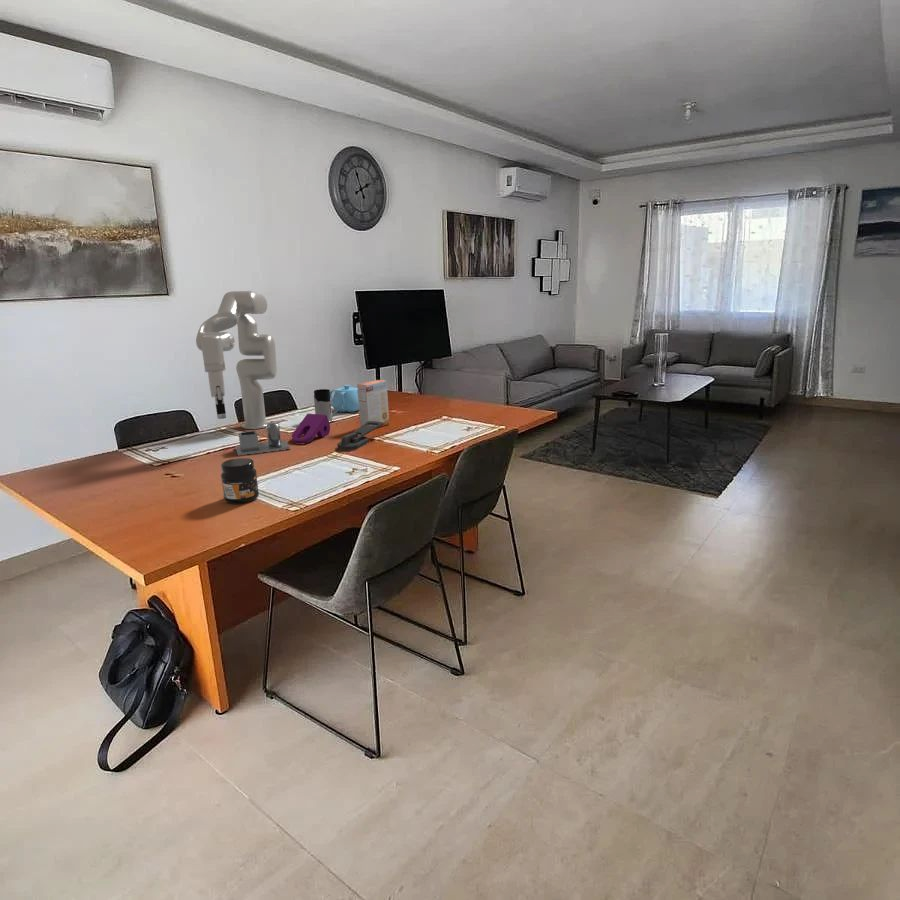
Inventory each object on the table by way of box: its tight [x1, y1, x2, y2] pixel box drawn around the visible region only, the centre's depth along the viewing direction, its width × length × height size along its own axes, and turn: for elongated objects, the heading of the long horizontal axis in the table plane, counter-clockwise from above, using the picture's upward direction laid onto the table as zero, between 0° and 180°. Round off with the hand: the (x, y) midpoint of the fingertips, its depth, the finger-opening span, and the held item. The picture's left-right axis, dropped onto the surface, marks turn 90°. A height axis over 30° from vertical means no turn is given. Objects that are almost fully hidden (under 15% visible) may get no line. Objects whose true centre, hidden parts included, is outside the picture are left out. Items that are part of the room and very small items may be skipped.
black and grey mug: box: [313, 388, 343, 421], centre depth 287 cm, size 9×14×15 cm, turn 96°
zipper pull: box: [336, 421, 383, 451], centre depth 248 cm, size 9×7×25 cm
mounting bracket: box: [291, 413, 331, 444], centre depth 257 cm, size 10×8×18 cm
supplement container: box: [220, 457, 260, 505], centre depth 185 cm, size 10×10×12 cm
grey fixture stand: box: [234, 422, 291, 457], centre depth 241 cm, size 12×20×10 cm, turn 114°
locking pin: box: [214, 395, 227, 420], centre depth 238 cm, size 3×3×10 cm
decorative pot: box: [330, 384, 359, 414], centre depth 310 cm, size 16×16×14 cm
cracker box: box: [356, 379, 390, 428], centre depth 273 cm, size 14×6×21 cm, turn 144°
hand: (221, 412), depth 239 cm, fingers closed on locking pin, 3 cm apart
